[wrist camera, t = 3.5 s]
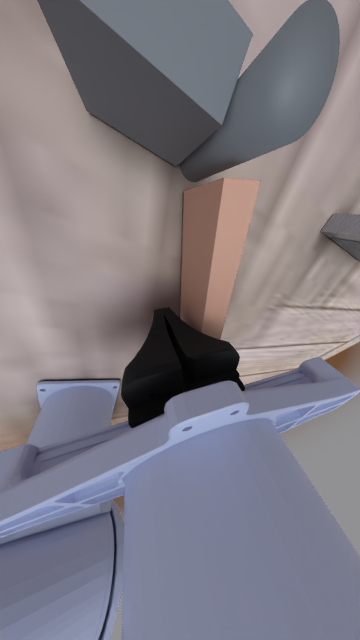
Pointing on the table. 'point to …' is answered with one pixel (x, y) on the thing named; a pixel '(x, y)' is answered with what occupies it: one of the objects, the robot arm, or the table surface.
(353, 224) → the grey angular block
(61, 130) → the table surface
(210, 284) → the rectangular block
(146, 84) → the gray lobed block
